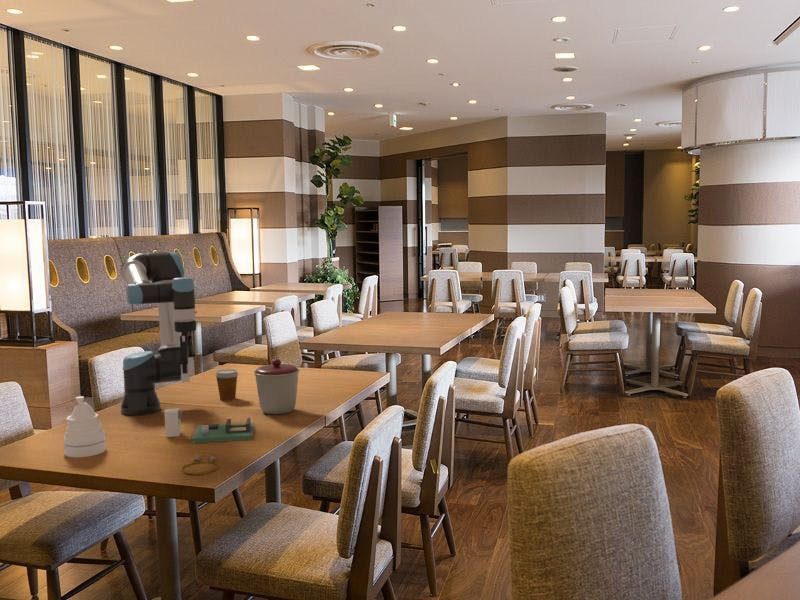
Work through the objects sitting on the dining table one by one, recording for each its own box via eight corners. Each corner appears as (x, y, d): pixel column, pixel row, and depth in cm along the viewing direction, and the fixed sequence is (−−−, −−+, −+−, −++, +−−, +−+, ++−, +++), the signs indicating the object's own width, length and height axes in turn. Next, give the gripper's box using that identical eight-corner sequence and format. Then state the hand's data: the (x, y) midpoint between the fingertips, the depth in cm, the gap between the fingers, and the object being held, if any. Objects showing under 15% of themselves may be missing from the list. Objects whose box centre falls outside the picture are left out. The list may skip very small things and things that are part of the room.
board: (191, 442, 252) (191, 429, 252) (198, 429, 268) (197, 417, 268) (251, 439, 255) (250, 426, 254) (254, 426, 271) (253, 414, 270)
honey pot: (58, 451, 245) (54, 398, 243) (96, 443, 254) (93, 391, 252) (73, 460, 236) (69, 405, 234) (112, 450, 245) (109, 397, 243)
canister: (274, 403, 305) (272, 353, 302) (310, 408, 296) (308, 356, 294) (245, 414, 289) (243, 361, 286) (282, 419, 280) (280, 364, 278)
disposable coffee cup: (226, 402, 308) (225, 374, 306) (211, 399, 313) (210, 372, 312) (243, 398, 315) (242, 370, 314) (229, 395, 321) (228, 368, 319)
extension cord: (233, 461, 233) (232, 455, 233) (206, 478, 218) (205, 471, 218) (199, 458, 237) (199, 452, 237) (170, 474, 222) (170, 468, 222)
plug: (165, 437, 260) (164, 412, 259) (167, 433, 264) (166, 408, 263) (181, 436, 260) (179, 411, 259) (183, 432, 265) (182, 408, 264)
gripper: (191, 324, 254) (194, 384, 256) (199, 316, 279) (202, 371, 281) (169, 325, 253) (172, 385, 255) (178, 316, 278) (181, 372, 280)
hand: (188, 378), depth 268 cm, fingers open, 13 cm apart
